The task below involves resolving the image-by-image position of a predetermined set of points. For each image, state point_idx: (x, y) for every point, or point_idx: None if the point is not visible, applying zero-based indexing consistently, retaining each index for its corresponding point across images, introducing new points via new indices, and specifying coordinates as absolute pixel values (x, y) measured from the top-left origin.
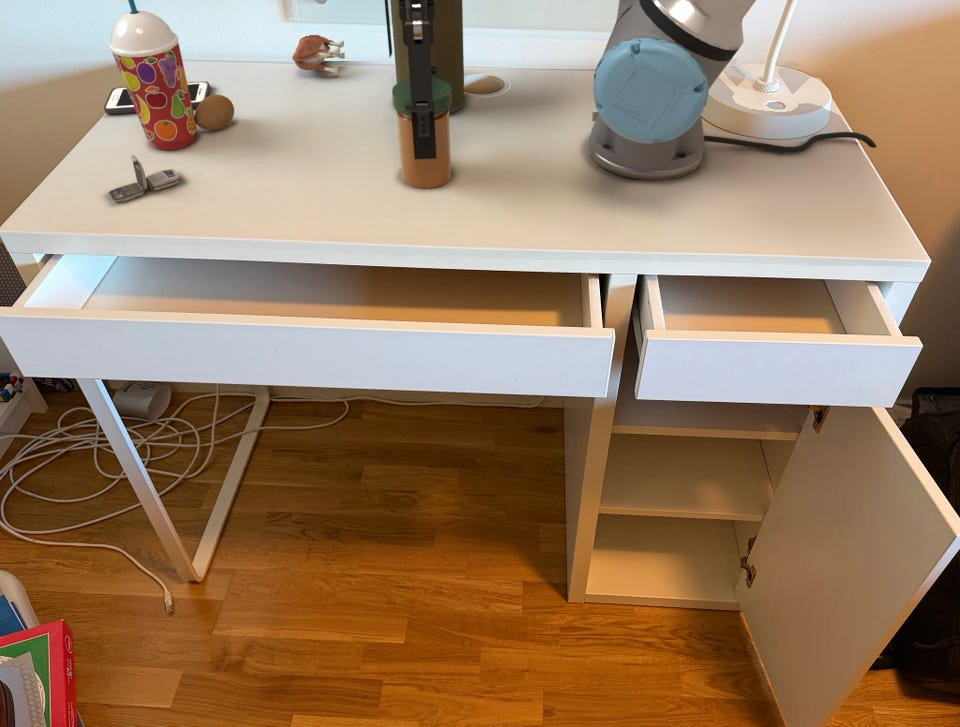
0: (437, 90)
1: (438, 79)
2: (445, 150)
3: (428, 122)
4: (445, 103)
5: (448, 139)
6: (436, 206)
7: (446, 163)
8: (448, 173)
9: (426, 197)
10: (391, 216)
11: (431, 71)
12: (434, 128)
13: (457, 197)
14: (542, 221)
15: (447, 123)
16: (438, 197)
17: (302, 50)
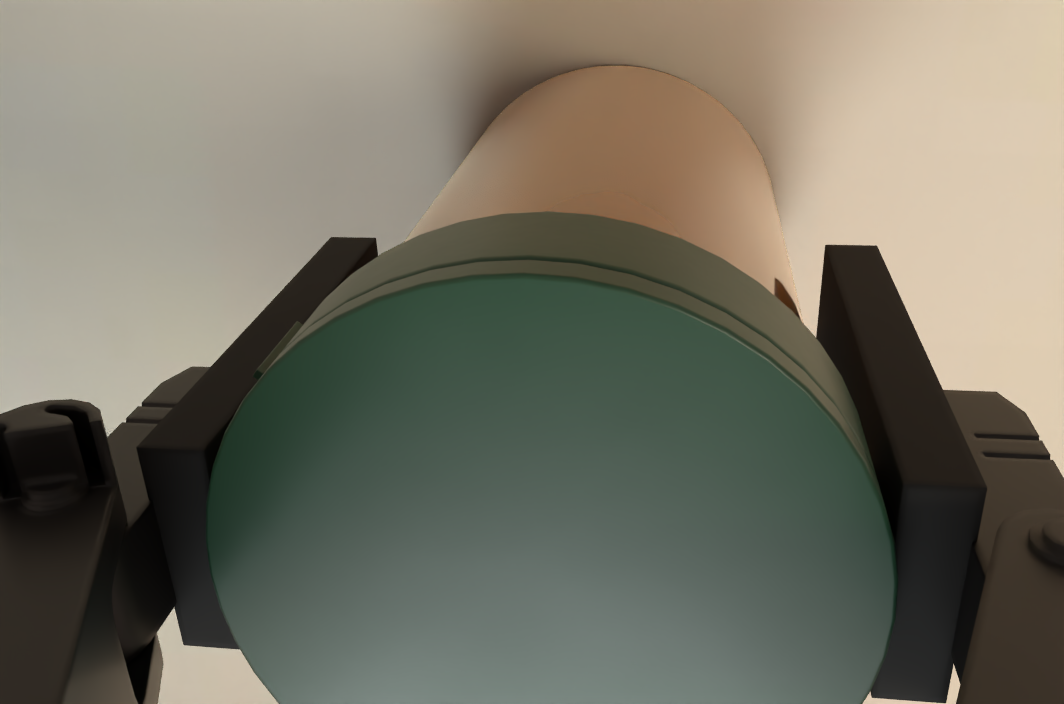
0: (581, 441)
1: (255, 405)
2: (723, 164)
3: (1062, 487)
4: (770, 324)
5: (666, 153)
6: (1007, 176)
7: (712, 129)
8: (690, 95)
9: (880, 234)
10: (1052, 433)
11: (84, 480)
12: (930, 369)
13: (923, 30)
14: None
15: (672, 205)
16: (895, 160)
17: None
